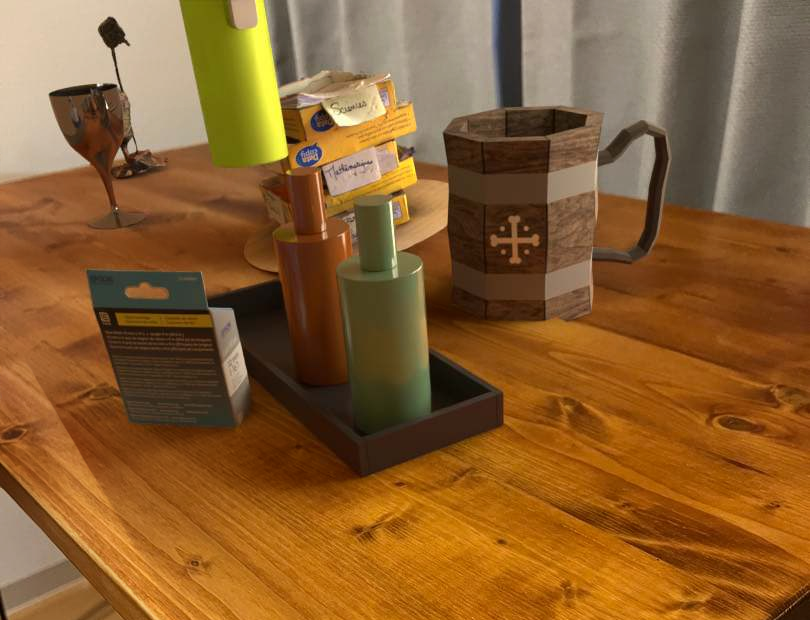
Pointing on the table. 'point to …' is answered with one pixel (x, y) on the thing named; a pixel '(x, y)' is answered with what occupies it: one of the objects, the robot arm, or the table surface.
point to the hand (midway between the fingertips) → (224, 25)
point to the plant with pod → (126, 110)
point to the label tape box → (171, 349)
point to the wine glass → (95, 137)
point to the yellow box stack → (349, 159)
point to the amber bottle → (312, 280)
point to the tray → (331, 405)
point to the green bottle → (383, 323)
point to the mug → (535, 209)
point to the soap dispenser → (235, 85)
